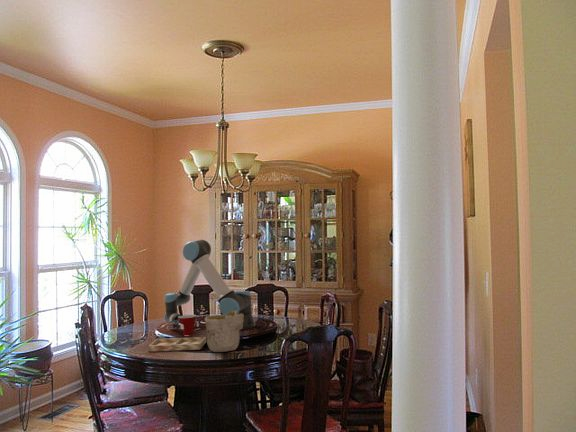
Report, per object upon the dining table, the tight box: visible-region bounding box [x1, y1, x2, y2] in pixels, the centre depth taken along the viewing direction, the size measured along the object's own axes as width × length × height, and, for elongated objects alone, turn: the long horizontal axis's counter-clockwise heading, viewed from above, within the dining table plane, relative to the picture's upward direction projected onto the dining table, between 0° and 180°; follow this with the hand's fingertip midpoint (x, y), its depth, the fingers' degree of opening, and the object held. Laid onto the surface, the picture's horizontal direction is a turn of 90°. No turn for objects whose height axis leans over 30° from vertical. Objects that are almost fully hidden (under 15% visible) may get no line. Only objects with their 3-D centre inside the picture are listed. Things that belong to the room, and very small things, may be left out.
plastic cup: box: [178, 314, 197, 336], centre depth 295 cm, size 11×11×12 cm
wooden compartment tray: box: [147, 336, 207, 352], centre depth 276 cm, size 29×15×3 cm, turn 87°
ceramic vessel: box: [204, 311, 244, 353], centre depth 268 cm, size 23×24×25 cm
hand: (190, 325), depth 291 cm, fingers closed on plastic cup, 9 cm apart
